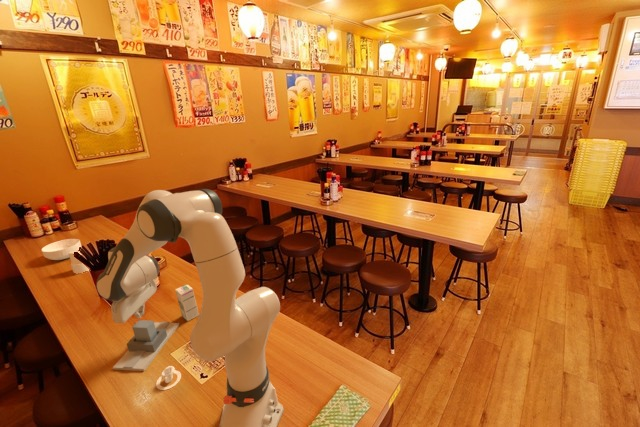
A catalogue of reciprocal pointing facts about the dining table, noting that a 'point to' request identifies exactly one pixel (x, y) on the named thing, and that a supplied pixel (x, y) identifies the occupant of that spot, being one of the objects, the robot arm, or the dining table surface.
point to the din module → (144, 331)
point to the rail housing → (145, 348)
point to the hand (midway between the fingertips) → (140, 316)
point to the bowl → (61, 249)
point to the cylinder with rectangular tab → (77, 263)
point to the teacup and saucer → (168, 377)
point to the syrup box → (187, 302)
